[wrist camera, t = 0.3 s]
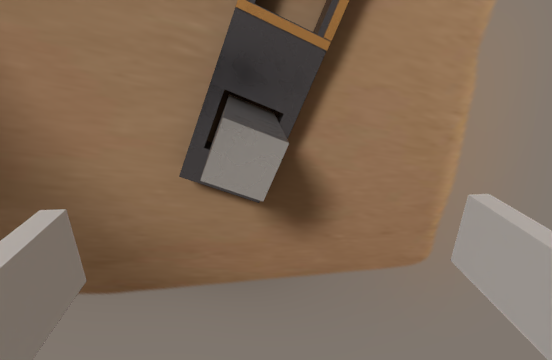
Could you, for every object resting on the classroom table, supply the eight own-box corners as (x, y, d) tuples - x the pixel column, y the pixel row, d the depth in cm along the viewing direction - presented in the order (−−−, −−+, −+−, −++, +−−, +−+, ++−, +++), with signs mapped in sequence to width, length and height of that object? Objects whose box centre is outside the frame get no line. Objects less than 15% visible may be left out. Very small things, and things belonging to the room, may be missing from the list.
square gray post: (213, 137, 34) (200, 180, 23) (229, 94, 32) (223, 117, 21) (256, 153, 35) (263, 201, 24) (273, 112, 33) (289, 143, 22)
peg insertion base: (183, 168, 35) (178, 177, 32) (282, -128, 26) (286, -147, 23) (258, 193, 37) (259, 203, 34) (373, -72, 28) (386, -84, 26)
